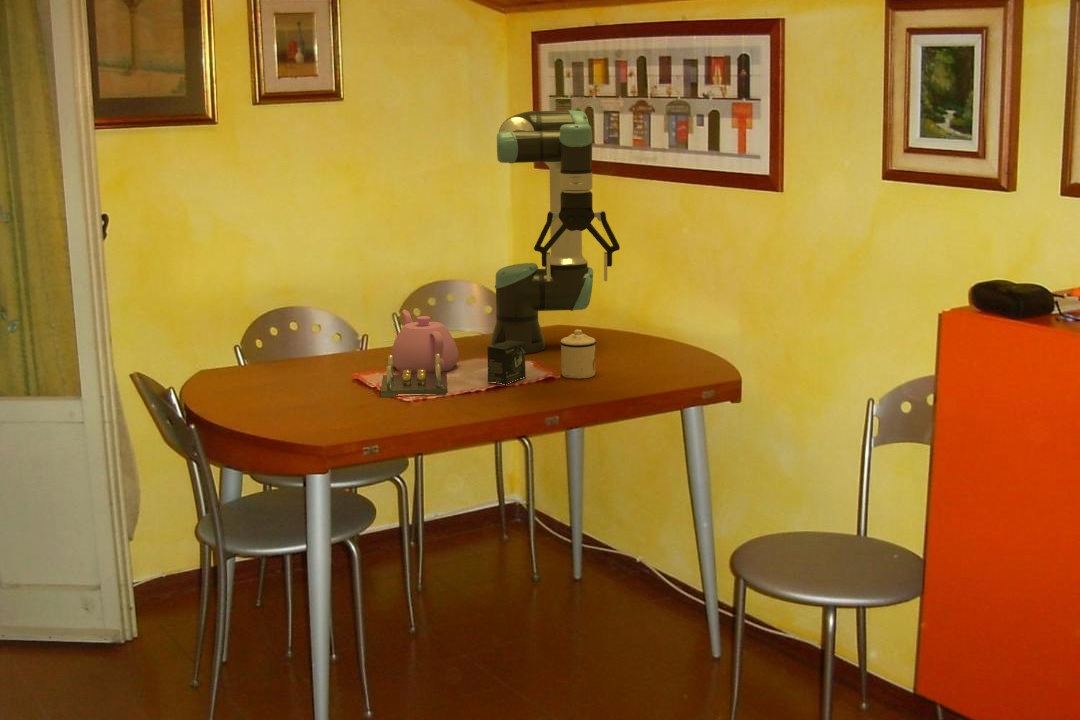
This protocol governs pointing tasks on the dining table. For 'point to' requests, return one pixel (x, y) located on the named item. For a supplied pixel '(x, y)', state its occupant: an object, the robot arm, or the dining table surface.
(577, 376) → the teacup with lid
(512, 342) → the box
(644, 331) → the dining table surface
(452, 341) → the teapot
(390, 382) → the chassis
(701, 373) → the dining table surface
